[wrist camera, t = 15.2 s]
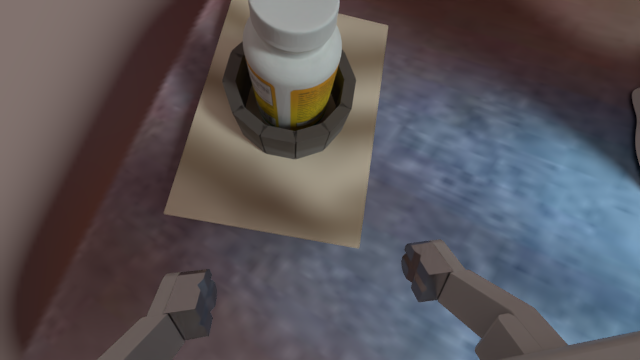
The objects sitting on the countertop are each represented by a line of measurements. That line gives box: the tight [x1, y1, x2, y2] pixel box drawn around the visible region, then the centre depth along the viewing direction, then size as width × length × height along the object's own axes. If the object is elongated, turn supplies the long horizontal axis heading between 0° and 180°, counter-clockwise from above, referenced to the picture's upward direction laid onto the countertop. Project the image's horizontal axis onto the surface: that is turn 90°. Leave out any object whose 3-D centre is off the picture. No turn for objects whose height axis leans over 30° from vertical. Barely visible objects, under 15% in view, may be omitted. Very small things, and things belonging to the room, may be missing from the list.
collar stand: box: [164, 0, 388, 248], centre depth 19 cm, size 20×14×5 cm
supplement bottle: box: [243, 0, 342, 131], centre depth 15 cm, size 5×5×10 cm
